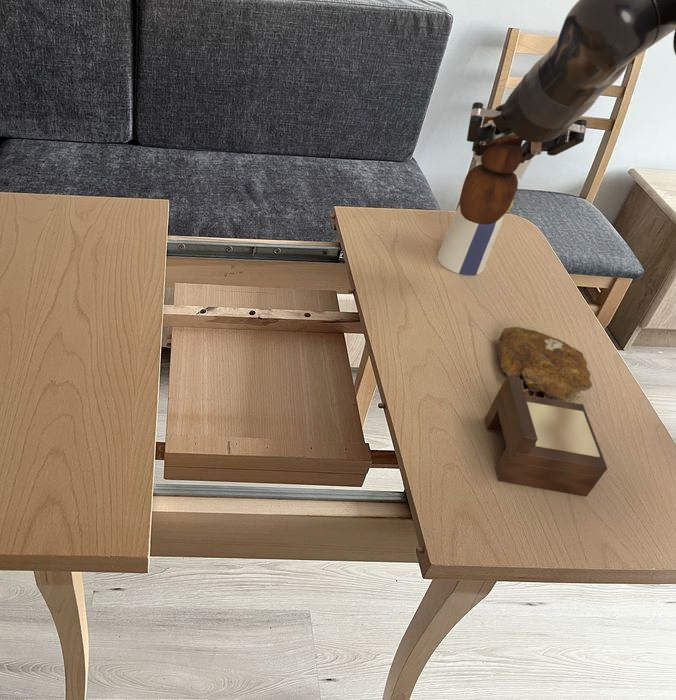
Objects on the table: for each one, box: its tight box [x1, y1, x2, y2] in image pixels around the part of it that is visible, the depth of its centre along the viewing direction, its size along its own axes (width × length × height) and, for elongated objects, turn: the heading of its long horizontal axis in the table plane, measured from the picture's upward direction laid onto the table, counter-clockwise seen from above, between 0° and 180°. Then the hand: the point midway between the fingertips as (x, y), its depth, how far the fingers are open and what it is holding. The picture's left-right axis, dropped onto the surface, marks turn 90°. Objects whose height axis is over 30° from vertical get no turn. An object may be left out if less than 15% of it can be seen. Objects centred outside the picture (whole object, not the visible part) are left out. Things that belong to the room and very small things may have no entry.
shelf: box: [484, 374, 608, 497], centre depth 80 cm, size 10×10×8 cm
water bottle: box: [436, 151, 532, 276], centre depth 106 cm, size 8×9×25 cm
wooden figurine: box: [459, 139, 524, 225], centre depth 93 cm, size 7×6×15 cm
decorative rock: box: [497, 326, 593, 401], centre depth 92 cm, size 11×4×15 cm
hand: (499, 152), depth 93 cm, fingers closed on wooden figurine, 5 cm apart
